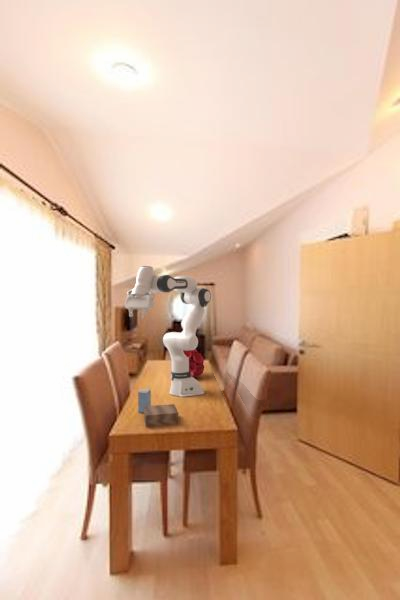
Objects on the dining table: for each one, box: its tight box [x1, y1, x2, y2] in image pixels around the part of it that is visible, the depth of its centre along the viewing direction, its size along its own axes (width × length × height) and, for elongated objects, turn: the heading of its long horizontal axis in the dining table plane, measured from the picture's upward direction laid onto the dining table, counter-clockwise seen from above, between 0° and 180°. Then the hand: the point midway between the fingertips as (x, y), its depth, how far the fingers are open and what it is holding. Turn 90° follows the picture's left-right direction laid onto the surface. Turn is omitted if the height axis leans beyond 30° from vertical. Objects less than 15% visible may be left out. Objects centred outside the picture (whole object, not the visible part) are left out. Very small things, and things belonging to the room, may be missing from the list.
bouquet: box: [183, 349, 205, 378], centre depth 275 cm, size 22×24×30 cm
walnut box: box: [143, 403, 179, 428], centre depth 182 cm, size 16×14×6 cm
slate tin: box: [137, 387, 152, 414], centre depth 196 cm, size 5×5×12 cm
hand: (136, 316), depth 200 cm, fingers open, 8 cm apart
